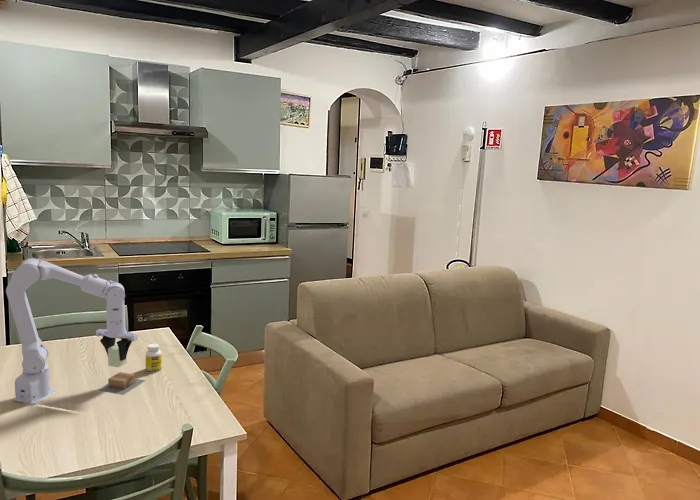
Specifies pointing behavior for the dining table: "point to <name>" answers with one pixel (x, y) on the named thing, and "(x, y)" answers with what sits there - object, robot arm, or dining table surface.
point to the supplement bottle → (153, 358)
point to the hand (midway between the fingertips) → (117, 358)
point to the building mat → (119, 391)
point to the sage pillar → (115, 357)
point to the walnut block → (121, 380)
